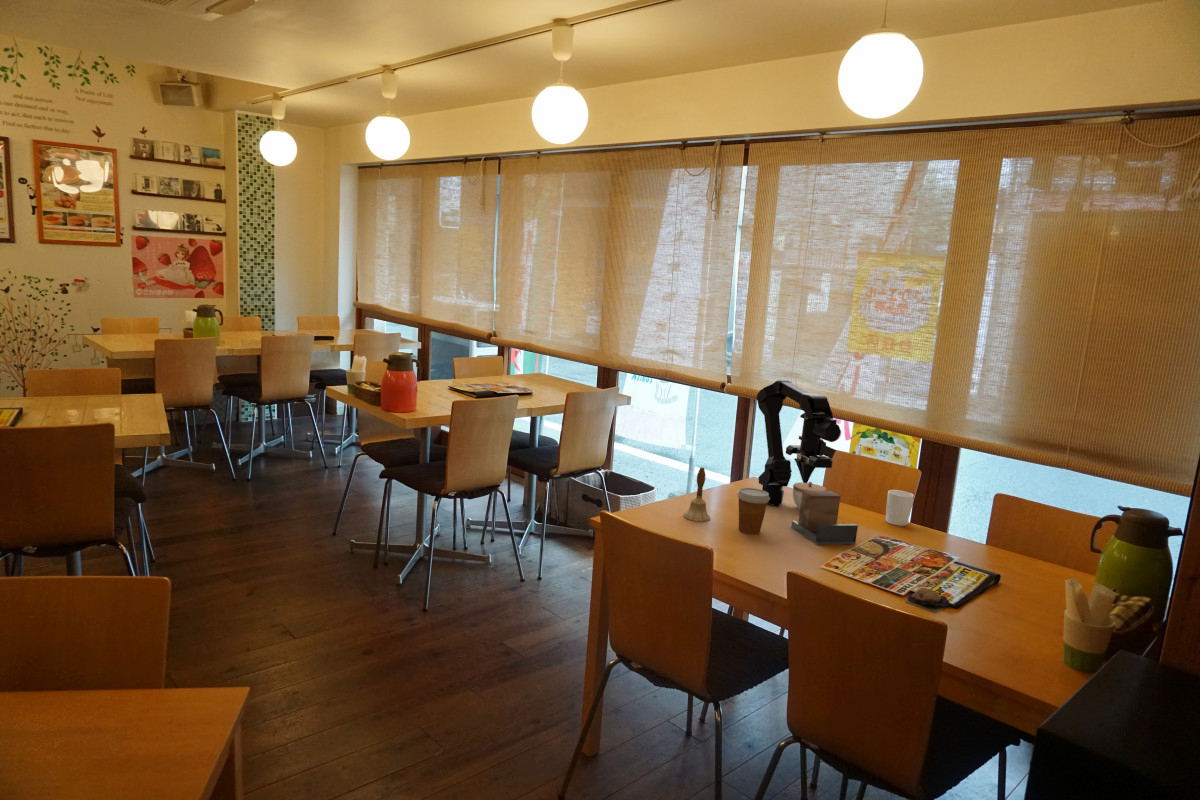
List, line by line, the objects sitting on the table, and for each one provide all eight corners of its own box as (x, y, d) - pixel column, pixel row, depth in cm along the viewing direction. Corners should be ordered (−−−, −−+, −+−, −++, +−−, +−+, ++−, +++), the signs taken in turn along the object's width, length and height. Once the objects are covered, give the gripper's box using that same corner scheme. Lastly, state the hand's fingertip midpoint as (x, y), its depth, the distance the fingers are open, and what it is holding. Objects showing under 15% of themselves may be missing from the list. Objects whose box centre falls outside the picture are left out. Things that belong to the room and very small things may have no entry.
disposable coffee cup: (730, 532, 225) (735, 493, 223) (736, 523, 234) (740, 485, 232) (763, 538, 222) (768, 498, 220) (767, 529, 231) (772, 491, 229)
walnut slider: (797, 525, 233) (802, 490, 232) (826, 525, 236) (831, 491, 234) (806, 531, 229) (811, 495, 227) (835, 530, 231) (840, 496, 230)
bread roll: (935, 616, 179) (937, 601, 178) (900, 602, 185) (903, 588, 184) (954, 605, 186) (956, 591, 186) (920, 593, 192) (922, 579, 192)
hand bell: (712, 522, 233) (718, 472, 230) (685, 521, 232) (691, 470, 230) (707, 514, 241) (712, 465, 238) (681, 512, 240) (686, 463, 238)
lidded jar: (799, 513, 250) (803, 486, 248) (785, 503, 260) (788, 477, 259) (829, 514, 252) (833, 487, 251) (813, 504, 262) (817, 478, 261)
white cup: (912, 527, 246) (917, 497, 244) (888, 525, 246) (893, 495, 244) (903, 519, 253) (908, 490, 252) (880, 517, 254) (884, 488, 252)
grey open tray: (791, 527, 235) (793, 509, 234) (827, 527, 238) (829, 509, 237) (817, 544, 220) (820, 525, 219) (855, 544, 224) (857, 525, 223)
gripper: (850, 442, 233) (843, 491, 236) (818, 429, 251) (811, 474, 254) (818, 441, 230) (811, 491, 233) (787, 428, 248) (781, 474, 250)
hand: (805, 482), depth 242 cm, fingers closed
